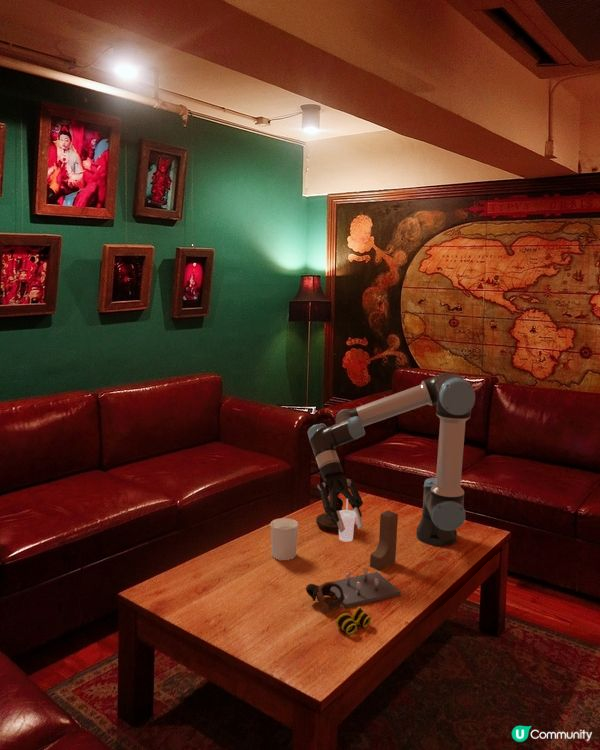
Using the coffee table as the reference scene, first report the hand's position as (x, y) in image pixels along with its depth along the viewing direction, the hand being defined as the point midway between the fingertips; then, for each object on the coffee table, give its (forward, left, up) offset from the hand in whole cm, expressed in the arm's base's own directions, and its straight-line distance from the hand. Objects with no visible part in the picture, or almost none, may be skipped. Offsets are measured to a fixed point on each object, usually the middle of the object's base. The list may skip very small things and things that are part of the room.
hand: (351, 528), depth 214 cm
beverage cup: (0, -4, -5) cm, 6 cm away
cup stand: (+1, +9, -17) cm, 19 cm away
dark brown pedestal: (-15, -39, -17) cm, 45 cm away
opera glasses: (+14, +26, -17) cm, 34 cm away
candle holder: (+14, -23, -17) cm, 32 cm away
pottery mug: (+16, +12, -17) cm, 26 cm away
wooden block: (-15, -4, -17) cm, 23 cm away
